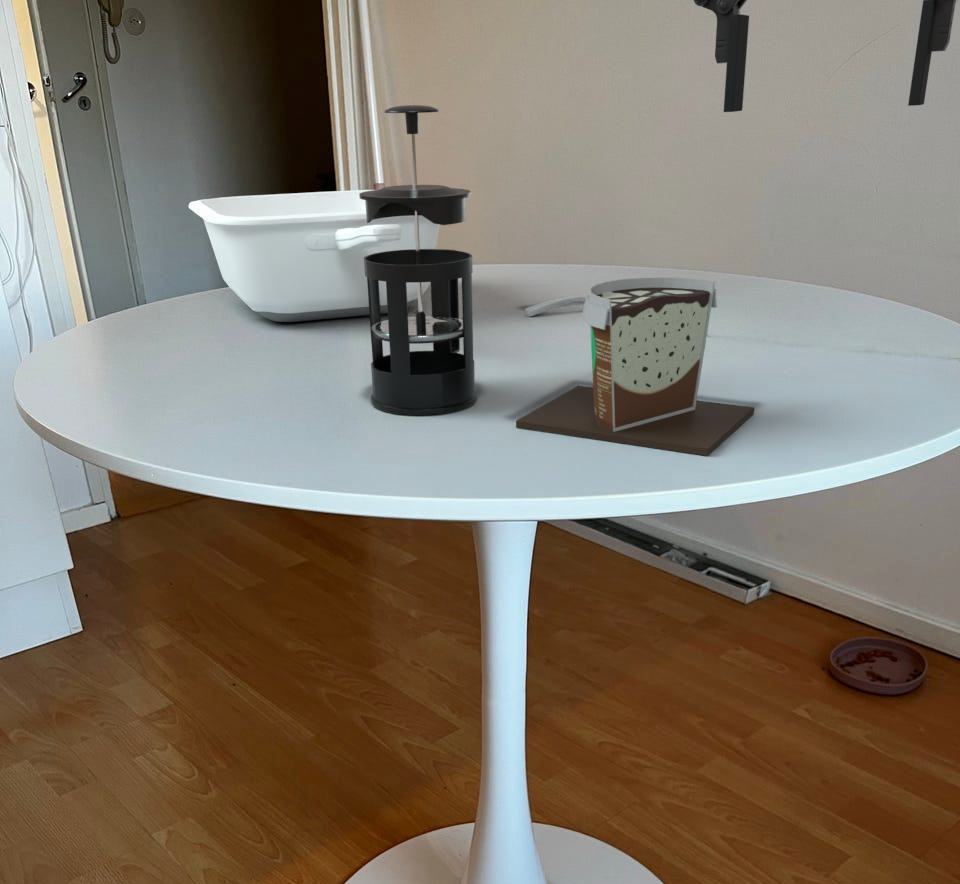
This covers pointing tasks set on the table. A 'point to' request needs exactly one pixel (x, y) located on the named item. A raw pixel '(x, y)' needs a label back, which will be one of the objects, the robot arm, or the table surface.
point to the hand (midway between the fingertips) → (820, 109)
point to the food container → (647, 347)
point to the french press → (420, 301)
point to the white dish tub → (306, 251)
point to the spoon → (553, 304)
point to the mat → (672, 433)
